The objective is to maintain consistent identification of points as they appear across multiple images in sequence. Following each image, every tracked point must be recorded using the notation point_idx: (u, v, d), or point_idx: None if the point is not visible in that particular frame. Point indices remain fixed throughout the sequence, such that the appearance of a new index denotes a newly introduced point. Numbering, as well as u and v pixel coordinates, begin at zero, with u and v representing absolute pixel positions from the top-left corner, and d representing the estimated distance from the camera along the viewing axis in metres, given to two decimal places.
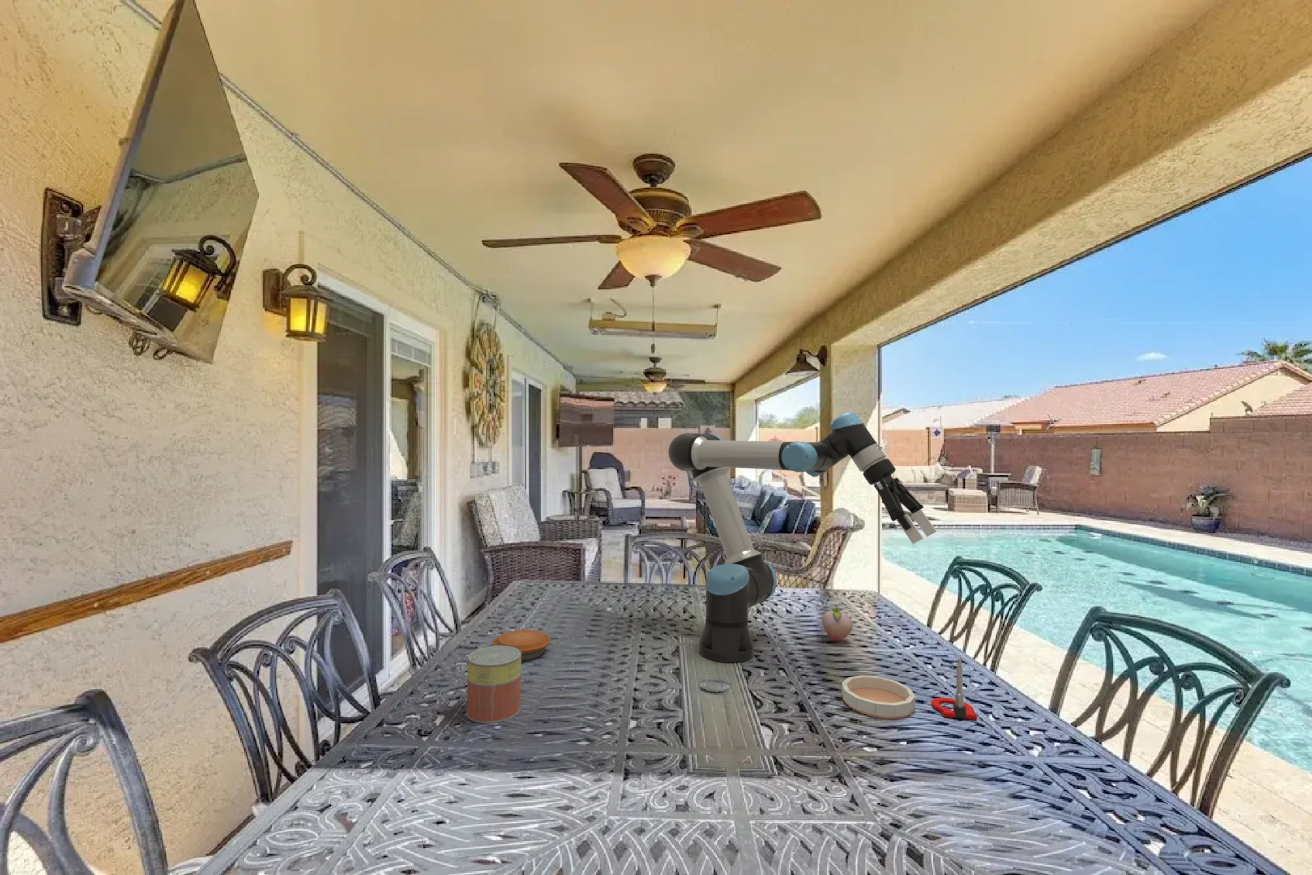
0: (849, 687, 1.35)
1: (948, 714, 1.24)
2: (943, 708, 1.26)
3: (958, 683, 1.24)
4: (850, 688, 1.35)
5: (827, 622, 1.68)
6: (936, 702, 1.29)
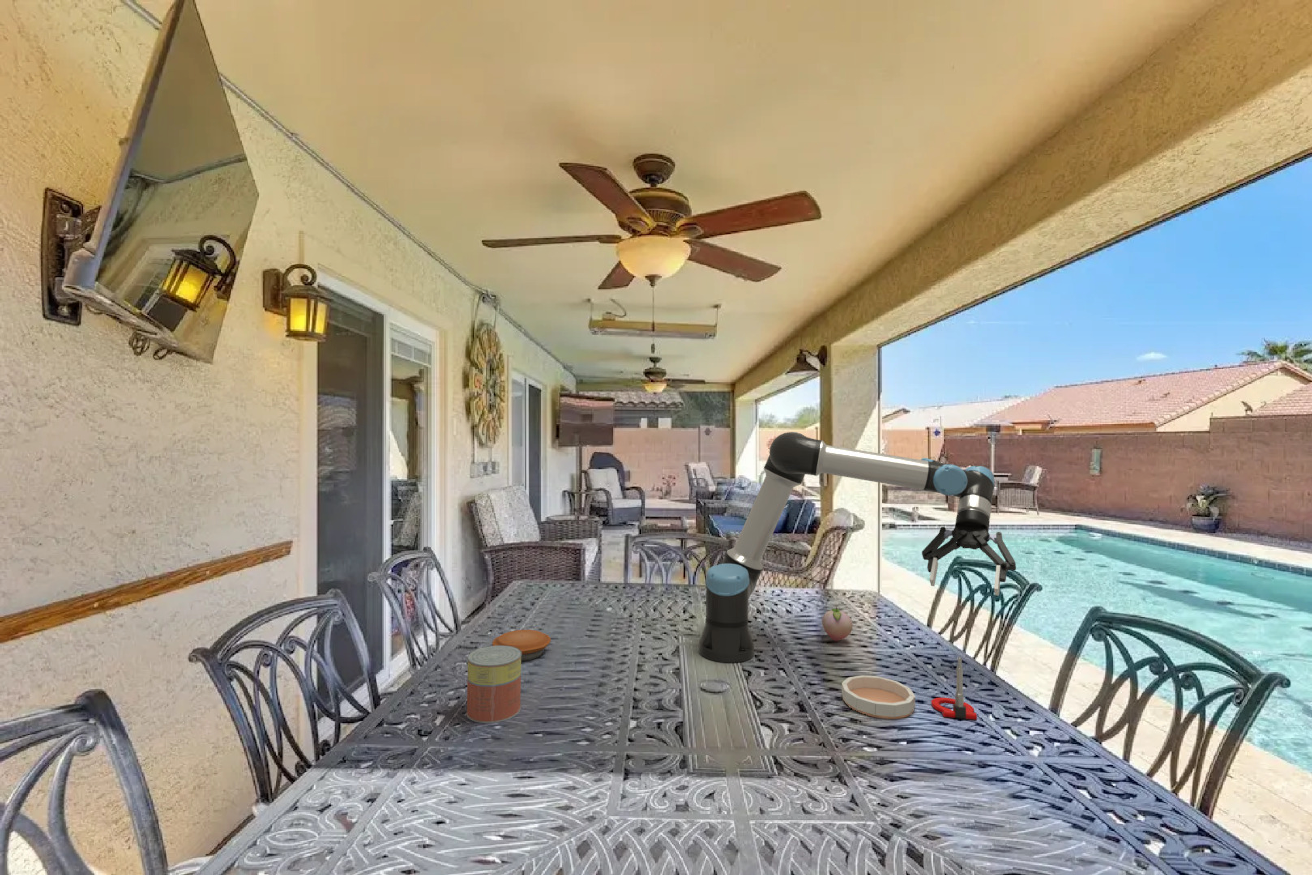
0: (849, 687, 1.35)
1: (948, 714, 1.24)
2: (943, 708, 1.26)
3: (958, 683, 1.24)
4: (850, 688, 1.35)
5: (827, 622, 1.68)
6: (936, 702, 1.29)
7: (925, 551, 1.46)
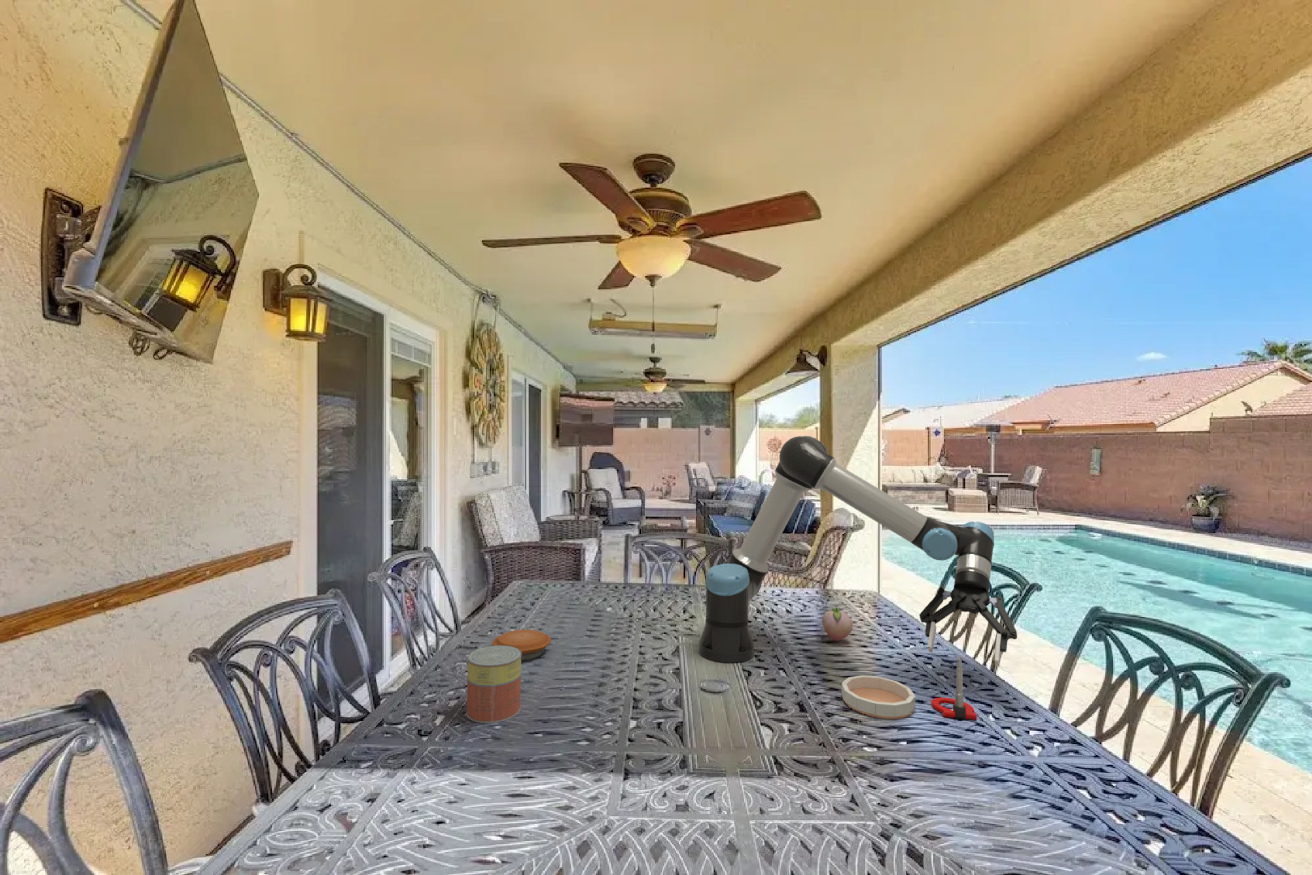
0: (849, 687, 1.35)
1: (948, 714, 1.24)
2: (943, 708, 1.26)
3: (958, 683, 1.24)
4: (850, 688, 1.35)
5: (827, 622, 1.68)
6: (936, 702, 1.29)
7: (923, 614, 1.40)
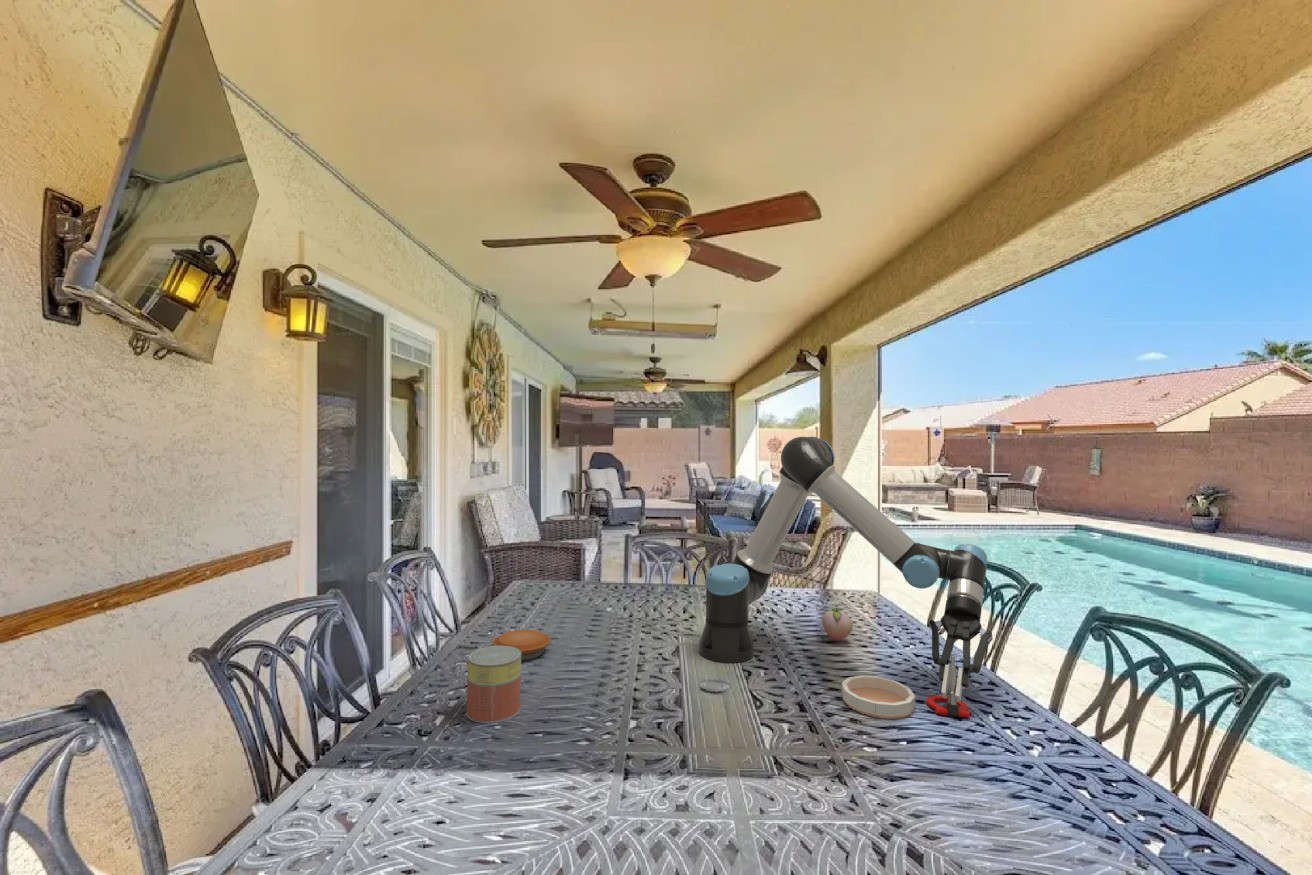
0: (849, 687, 1.35)
1: (941, 711, 1.25)
2: (937, 705, 1.27)
3: (951, 681, 1.25)
4: (850, 688, 1.35)
5: (827, 622, 1.68)
6: (931, 700, 1.30)
7: (935, 655, 1.31)
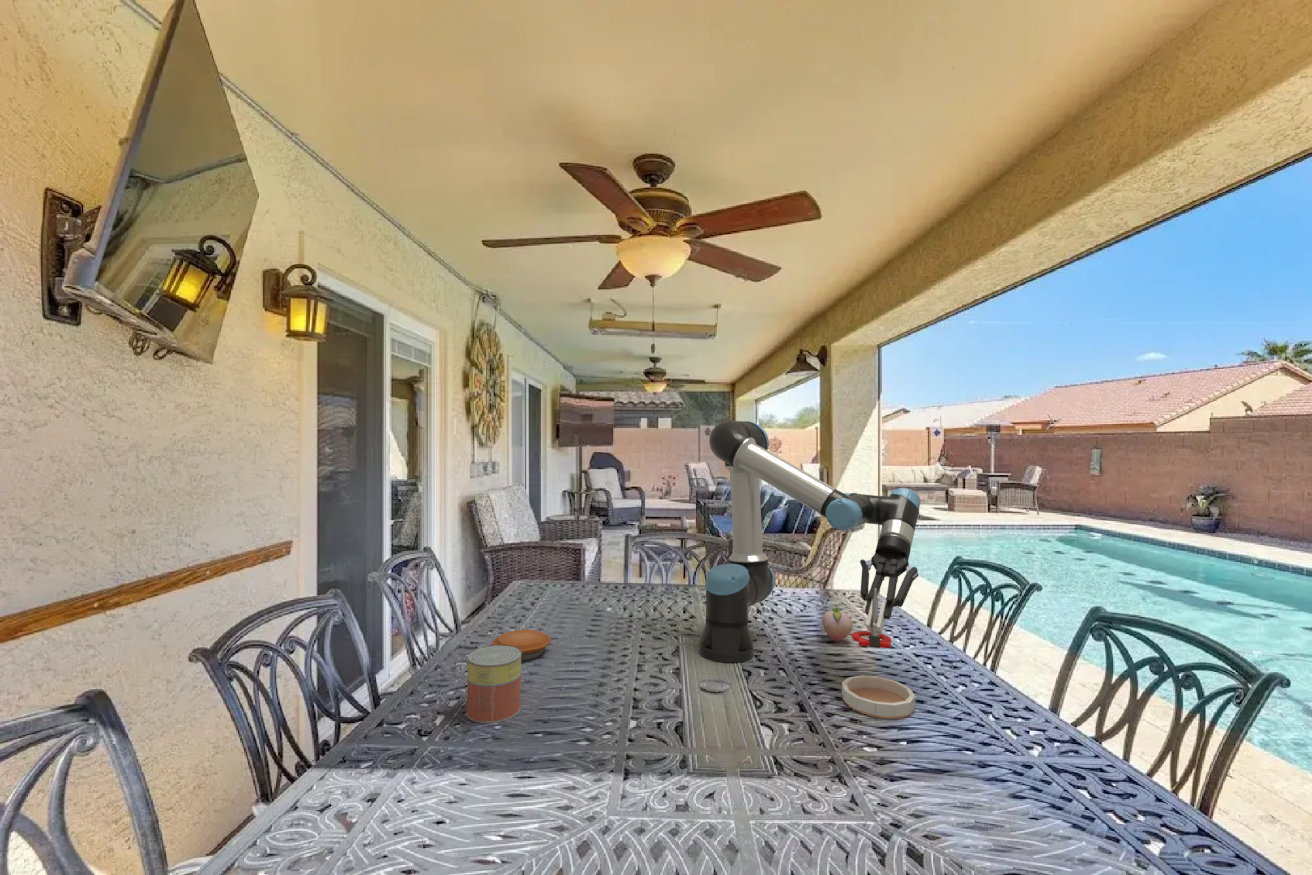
0: (849, 687, 1.35)
1: (863, 643, 1.27)
2: (860, 638, 1.30)
3: (873, 613, 1.28)
4: (850, 688, 1.35)
5: (827, 622, 1.68)
6: (856, 634, 1.33)
7: (863, 591, 1.33)
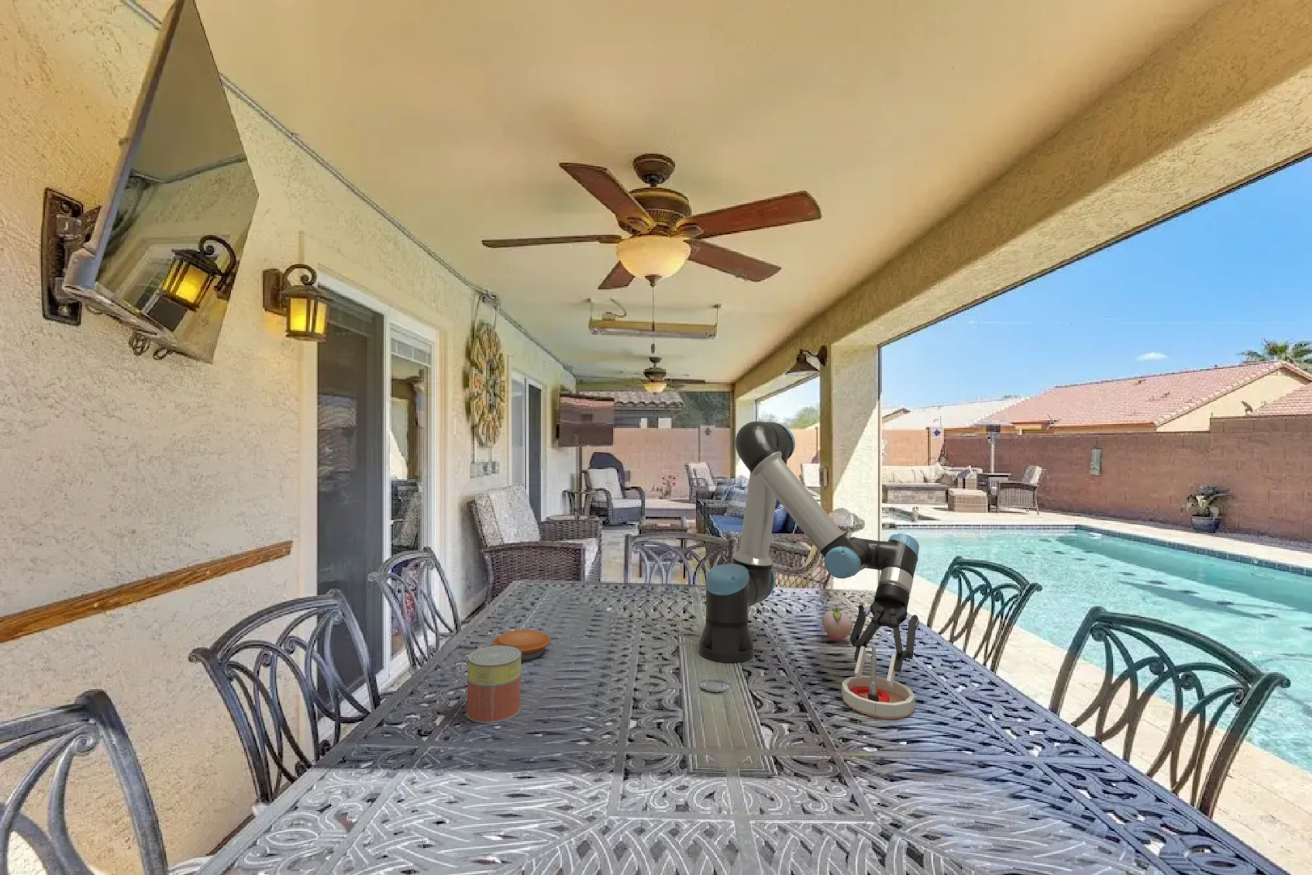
0: (849, 687, 1.35)
1: None
2: (859, 696, 1.30)
3: (872, 671, 1.28)
4: (850, 688, 1.35)
5: (827, 622, 1.68)
6: (855, 690, 1.33)
7: (853, 637, 1.35)
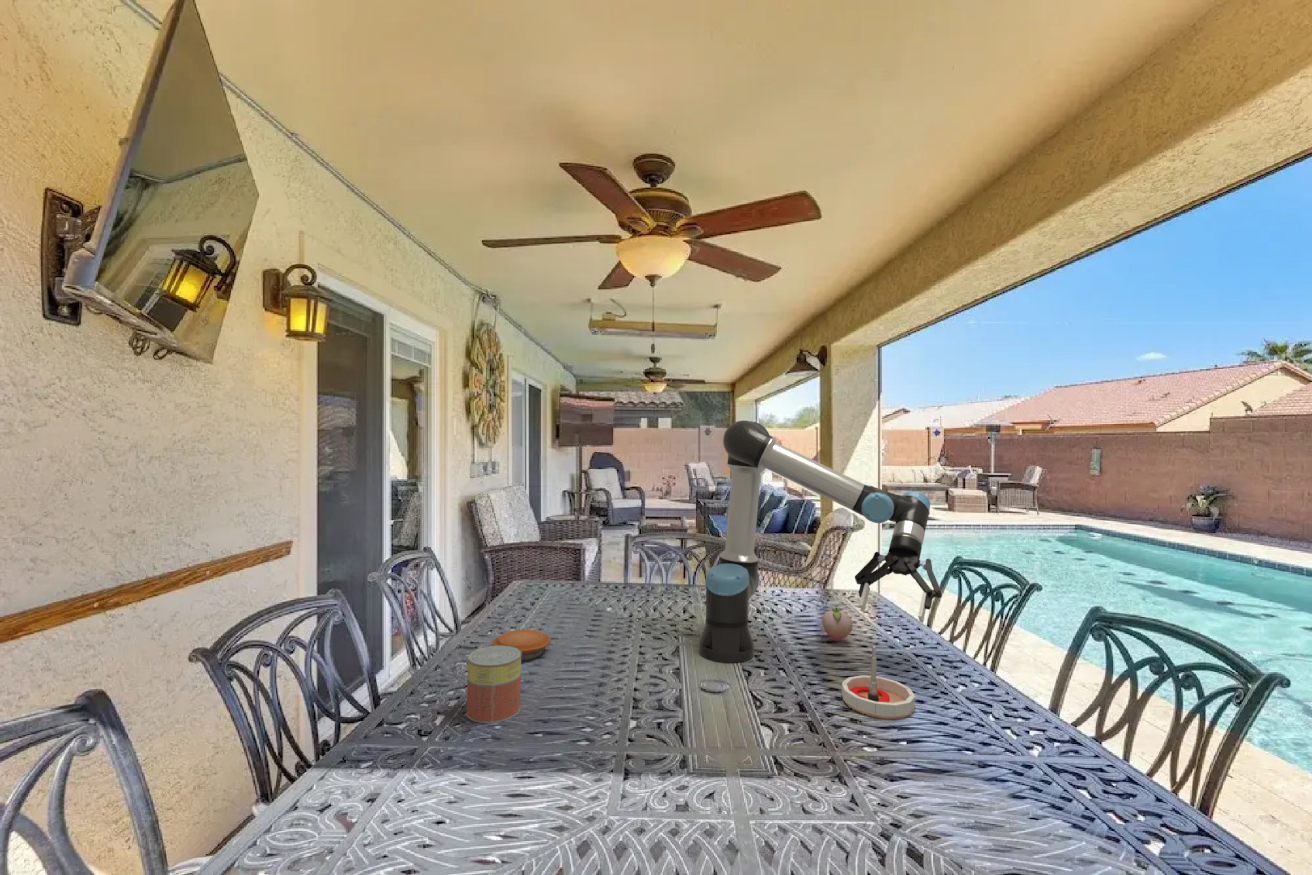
0: (849, 687, 1.35)
1: None
2: (859, 696, 1.30)
3: (872, 671, 1.28)
4: (850, 688, 1.35)
5: (827, 622, 1.68)
6: (855, 690, 1.33)
7: (858, 576, 1.48)
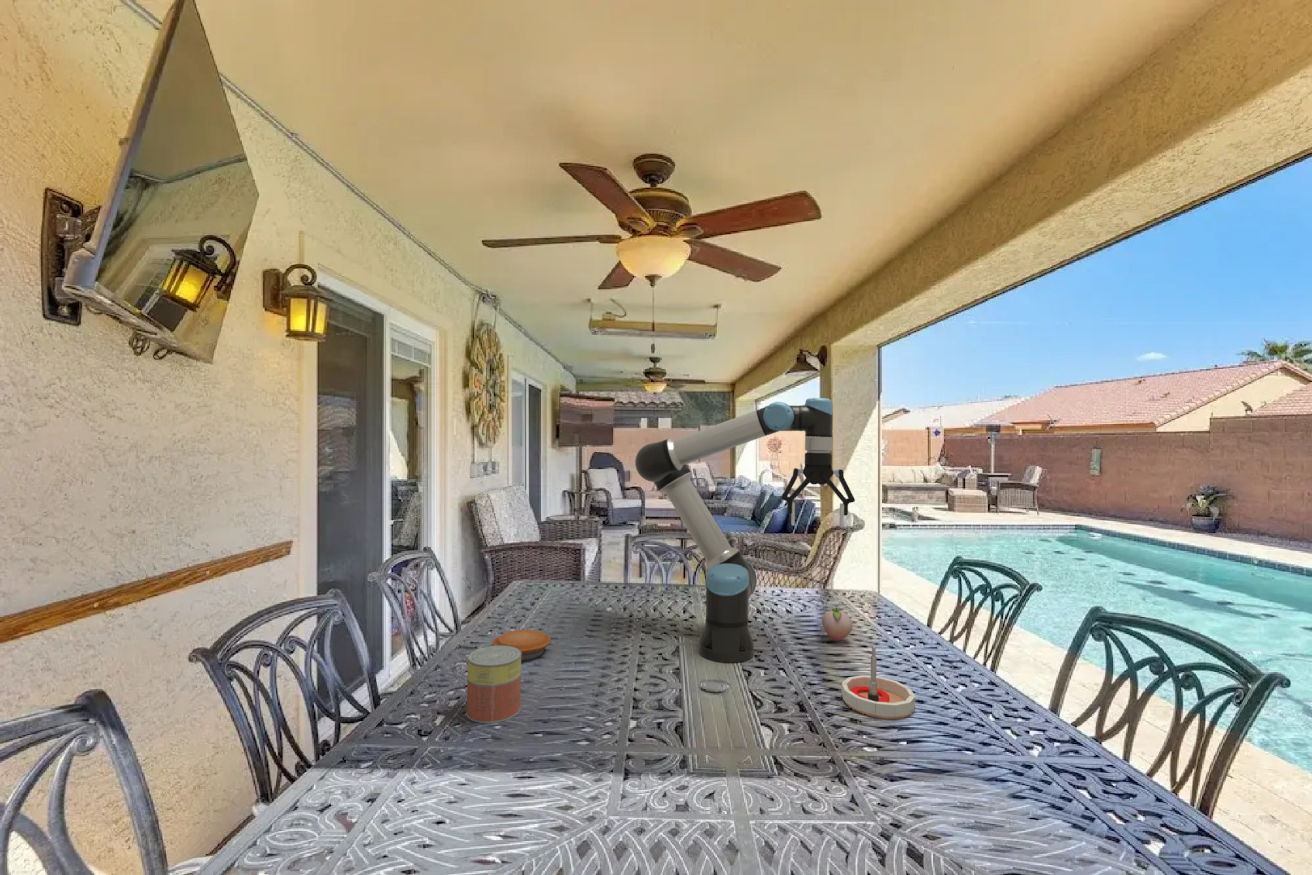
0: (849, 687, 1.35)
1: None
2: (859, 696, 1.30)
3: (872, 671, 1.28)
4: (850, 688, 1.35)
5: (827, 622, 1.68)
6: (855, 690, 1.33)
7: (784, 497, 1.66)
